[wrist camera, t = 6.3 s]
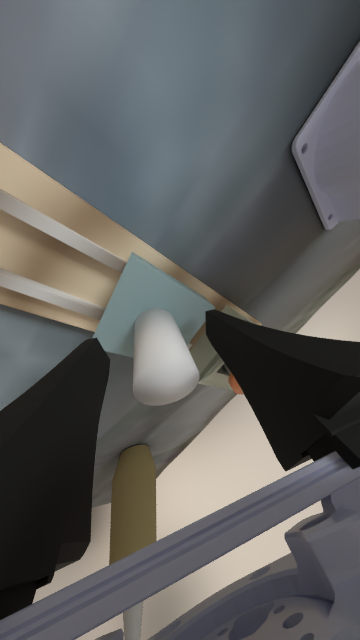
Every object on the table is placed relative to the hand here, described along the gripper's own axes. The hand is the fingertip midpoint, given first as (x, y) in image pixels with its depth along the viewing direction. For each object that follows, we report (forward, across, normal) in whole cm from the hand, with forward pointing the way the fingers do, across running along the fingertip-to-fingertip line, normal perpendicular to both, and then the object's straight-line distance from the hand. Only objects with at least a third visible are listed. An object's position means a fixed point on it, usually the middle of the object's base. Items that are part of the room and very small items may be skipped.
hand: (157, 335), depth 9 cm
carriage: (+4, 0, 0) cm, 4 cm away
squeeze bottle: (+6, +11, +33) cm, 35 cm away
